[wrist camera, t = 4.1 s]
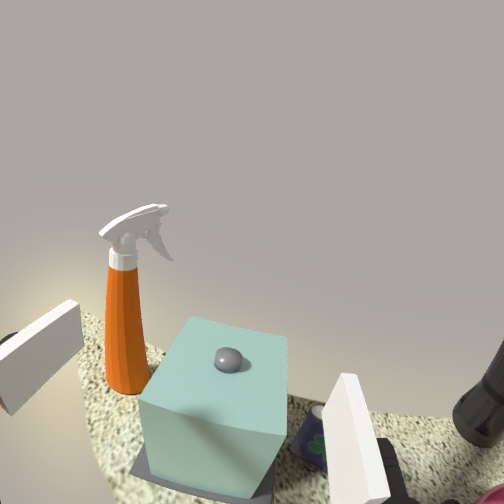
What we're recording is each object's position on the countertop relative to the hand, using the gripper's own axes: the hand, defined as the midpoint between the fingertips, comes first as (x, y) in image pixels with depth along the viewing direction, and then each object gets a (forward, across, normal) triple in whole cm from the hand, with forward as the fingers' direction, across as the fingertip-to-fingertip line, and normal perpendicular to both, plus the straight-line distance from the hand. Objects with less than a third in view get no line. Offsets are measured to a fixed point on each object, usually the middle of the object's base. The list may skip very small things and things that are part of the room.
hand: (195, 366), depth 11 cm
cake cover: (+10, +1, -22) cm, 25 cm away
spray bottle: (+19, -13, -23) cm, 33 cm away
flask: (+10, +15, -23) cm, 29 cm away
